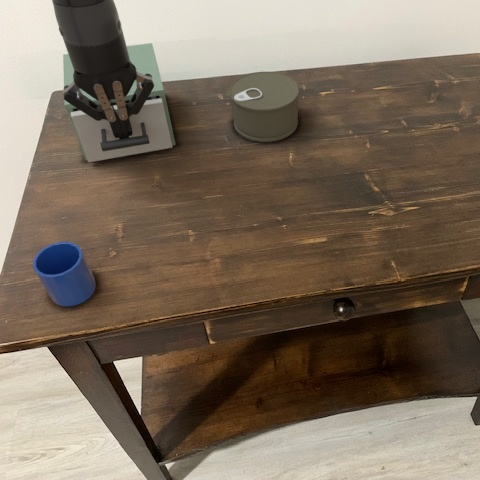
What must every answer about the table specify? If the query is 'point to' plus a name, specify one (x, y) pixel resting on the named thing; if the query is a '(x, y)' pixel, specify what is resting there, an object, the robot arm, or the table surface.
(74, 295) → the cup
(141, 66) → the mint green cabinet box
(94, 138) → the drawer
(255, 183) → the table surface
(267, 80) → the can
